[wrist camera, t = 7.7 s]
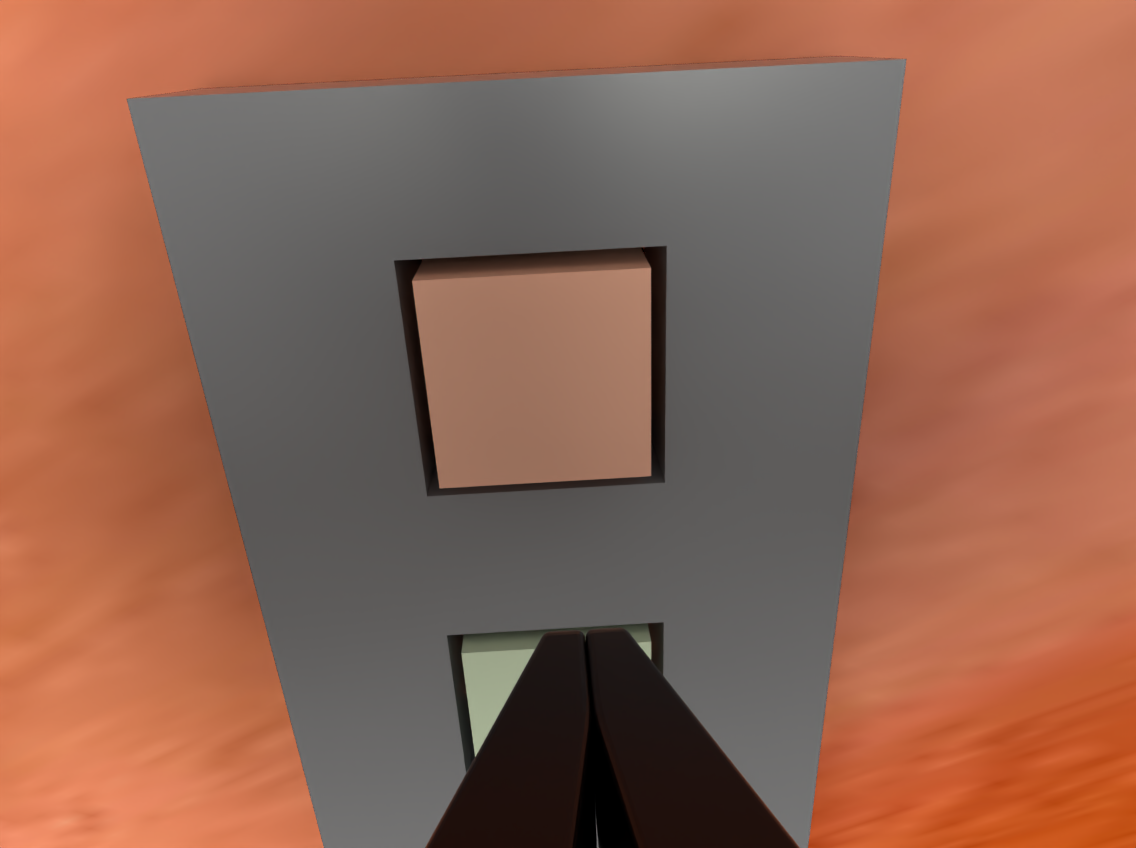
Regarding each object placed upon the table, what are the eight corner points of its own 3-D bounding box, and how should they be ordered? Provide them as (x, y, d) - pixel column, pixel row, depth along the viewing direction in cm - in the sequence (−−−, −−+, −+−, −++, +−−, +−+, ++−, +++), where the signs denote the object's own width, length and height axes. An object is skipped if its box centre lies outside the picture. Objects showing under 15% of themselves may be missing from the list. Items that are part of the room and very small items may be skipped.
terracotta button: (634, 235, 16) (650, 267, 13) (636, 419, 17) (650, 476, 15) (429, 246, 16) (412, 280, 13) (452, 430, 17) (439, 488, 15)
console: (839, 56, 15) (906, 58, 12) (759, 925, 26) (785, 1026, 24) (201, 88, 15) (125, 99, 12) (394, 949, 26) (378, 1053, 23)
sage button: (637, 571, 19) (651, 641, 17) (639, 697, 21) (651, 776, 19) (470, 580, 19) (461, 653, 17) (485, 706, 21) (479, 787, 19)
